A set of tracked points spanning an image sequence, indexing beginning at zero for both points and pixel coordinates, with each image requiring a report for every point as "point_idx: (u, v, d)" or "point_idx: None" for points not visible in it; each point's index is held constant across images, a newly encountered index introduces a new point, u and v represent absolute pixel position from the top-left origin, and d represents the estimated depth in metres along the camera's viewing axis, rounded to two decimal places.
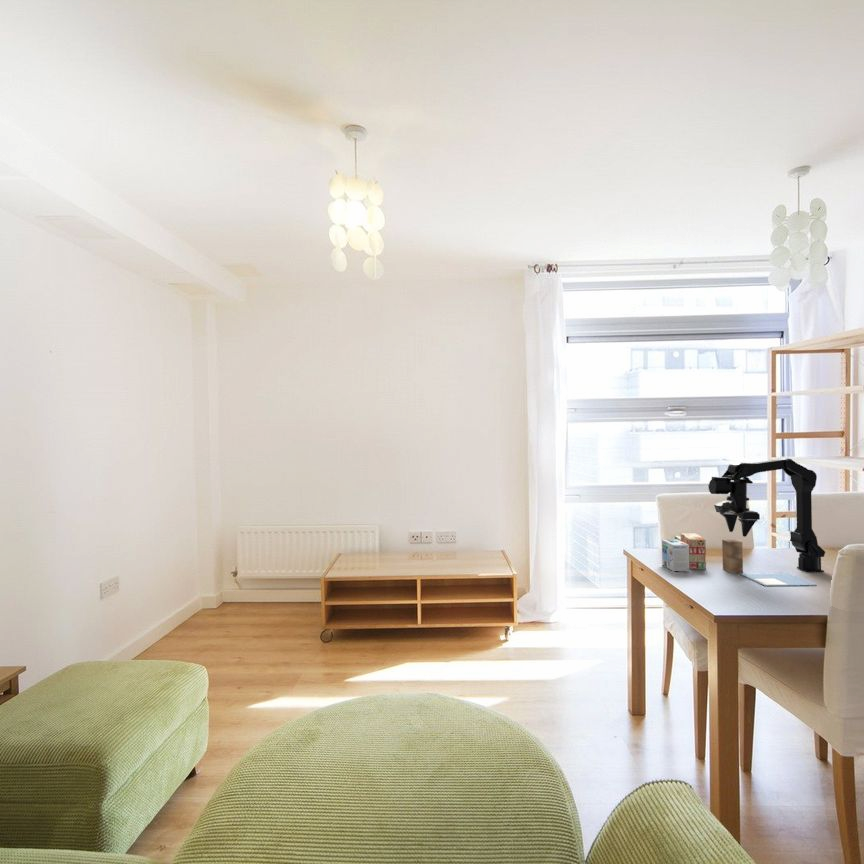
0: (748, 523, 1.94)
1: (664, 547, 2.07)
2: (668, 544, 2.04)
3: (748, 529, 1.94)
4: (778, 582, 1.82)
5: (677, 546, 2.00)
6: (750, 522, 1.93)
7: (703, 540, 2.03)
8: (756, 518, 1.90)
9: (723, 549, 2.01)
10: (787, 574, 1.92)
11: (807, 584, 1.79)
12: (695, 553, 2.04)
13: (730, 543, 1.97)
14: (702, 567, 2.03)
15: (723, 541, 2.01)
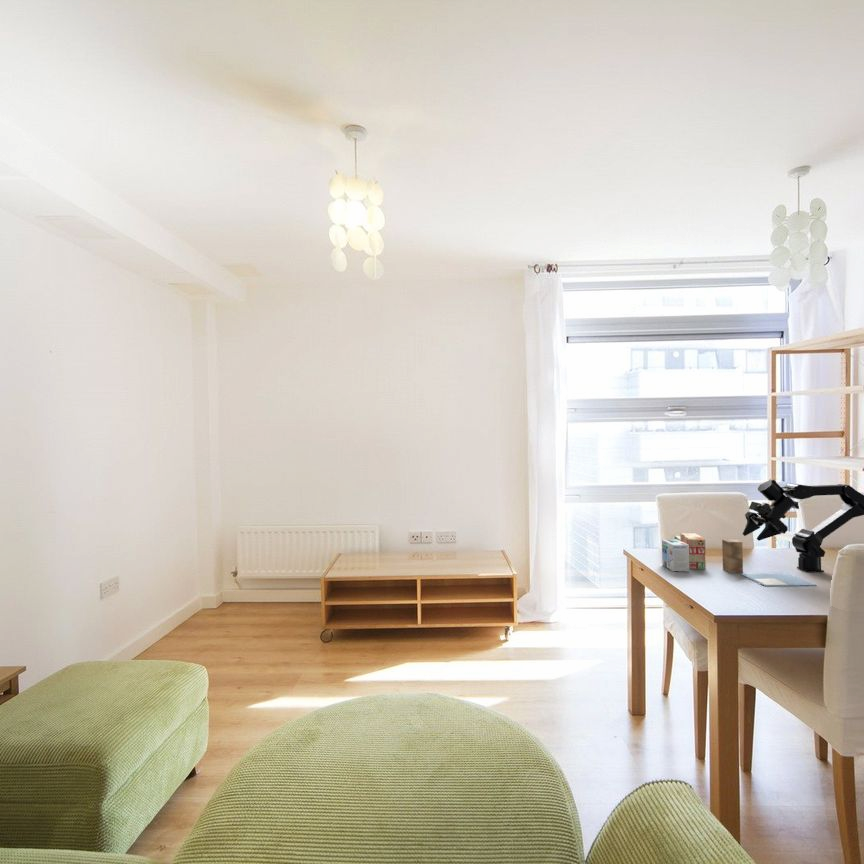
0: (770, 531, 1.93)
1: (664, 547, 2.07)
2: (668, 544, 2.04)
3: (766, 536, 1.94)
4: (778, 582, 1.82)
5: (677, 546, 2.00)
6: (773, 532, 1.93)
7: (703, 540, 2.03)
8: (783, 530, 1.90)
9: (723, 549, 2.01)
10: (787, 574, 1.92)
11: (807, 584, 1.79)
12: (695, 553, 2.04)
13: (730, 543, 1.97)
14: (702, 567, 2.03)
15: (723, 541, 2.01)
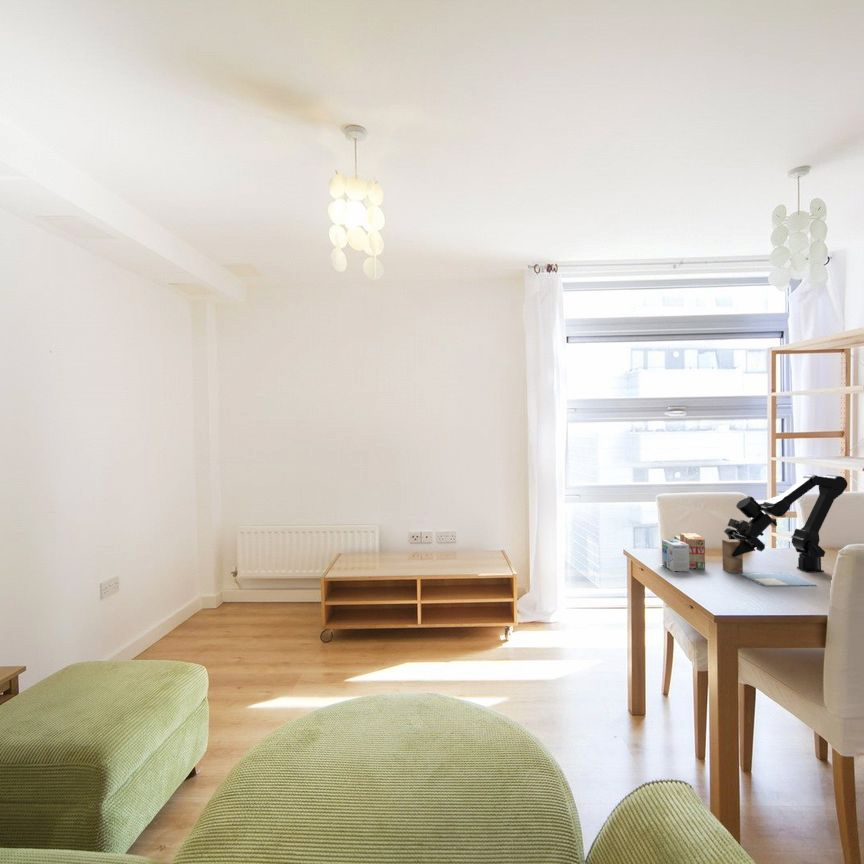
0: (745, 548, 1.95)
1: (664, 547, 2.07)
2: (668, 544, 2.04)
3: (741, 552, 1.96)
4: (778, 582, 1.82)
5: (677, 546, 2.00)
6: (747, 548, 1.95)
7: (702, 540, 2.03)
8: (760, 548, 1.90)
9: (723, 549, 2.01)
10: (787, 574, 1.92)
11: (807, 584, 1.79)
12: (695, 552, 2.04)
13: (730, 543, 1.97)
14: (701, 567, 2.03)
15: (723, 541, 2.01)
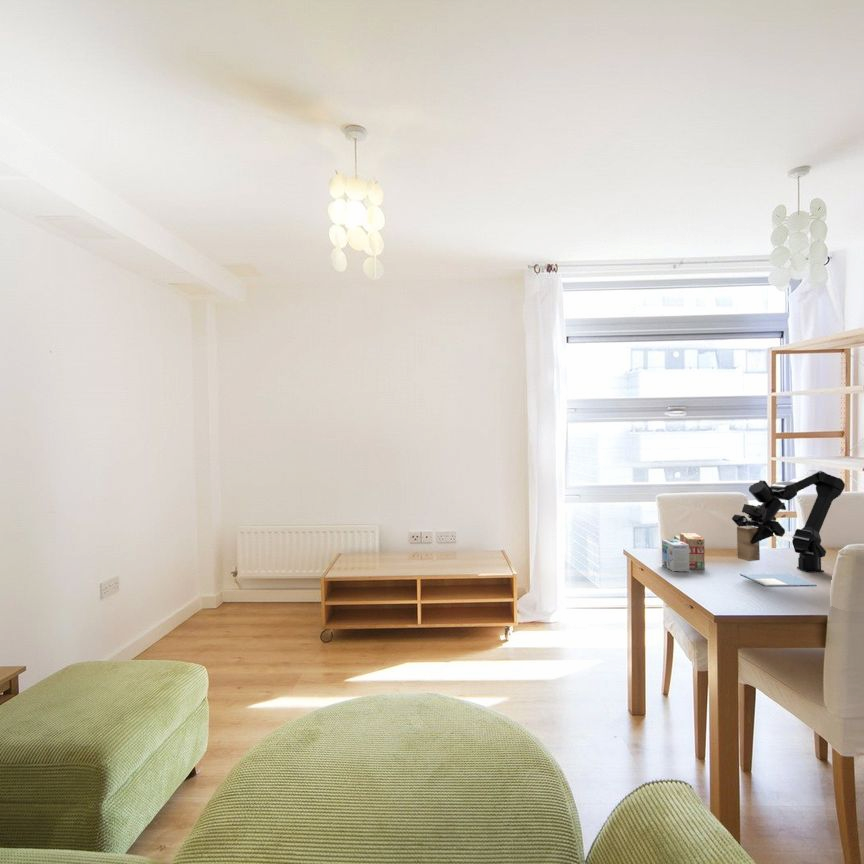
0: (763, 534, 1.88)
1: (664, 547, 2.07)
2: (668, 544, 2.04)
3: (759, 539, 1.88)
4: (778, 582, 1.82)
5: (677, 546, 2.00)
6: (765, 534, 1.88)
7: (702, 540, 2.04)
8: (781, 533, 1.83)
9: (738, 537, 1.92)
10: (787, 574, 1.92)
11: (807, 584, 1.79)
12: (694, 552, 2.04)
13: (749, 530, 1.88)
14: (701, 567, 2.04)
15: (738, 528, 1.92)
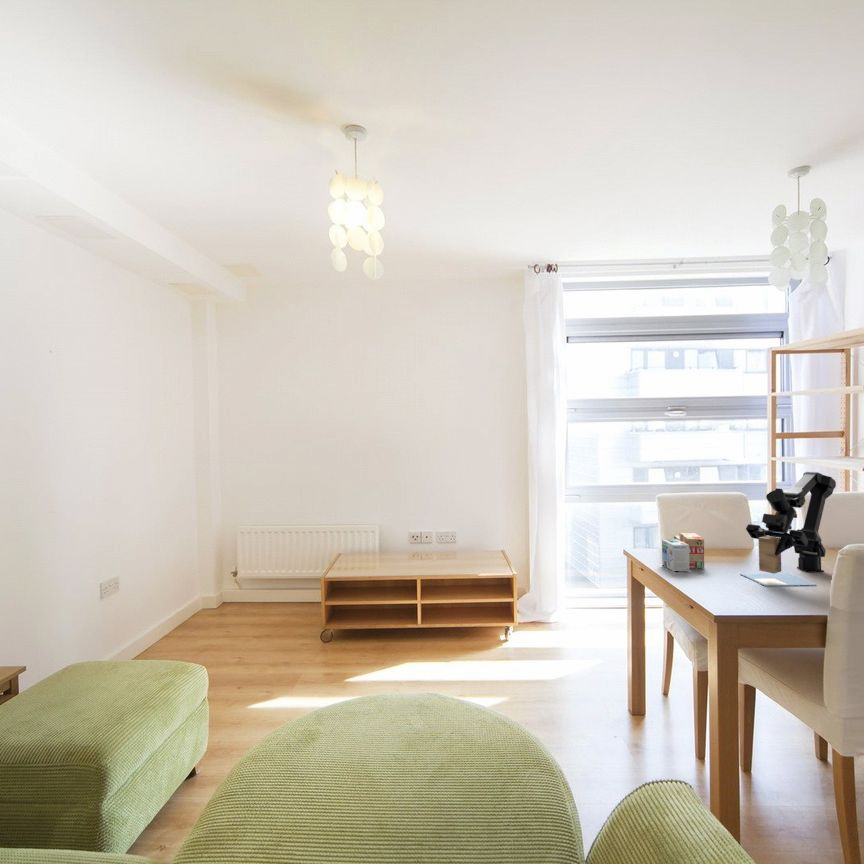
0: (785, 544, 1.81)
1: (664, 547, 2.07)
2: (668, 544, 2.04)
3: (782, 550, 1.81)
4: (778, 582, 1.82)
5: (677, 546, 2.00)
6: (787, 544, 1.81)
7: (702, 540, 2.04)
8: (806, 543, 1.78)
9: (760, 548, 1.84)
10: (787, 574, 1.92)
11: (807, 584, 1.79)
12: (694, 552, 2.04)
13: (774, 541, 1.80)
14: (701, 566, 2.04)
15: (761, 539, 1.83)
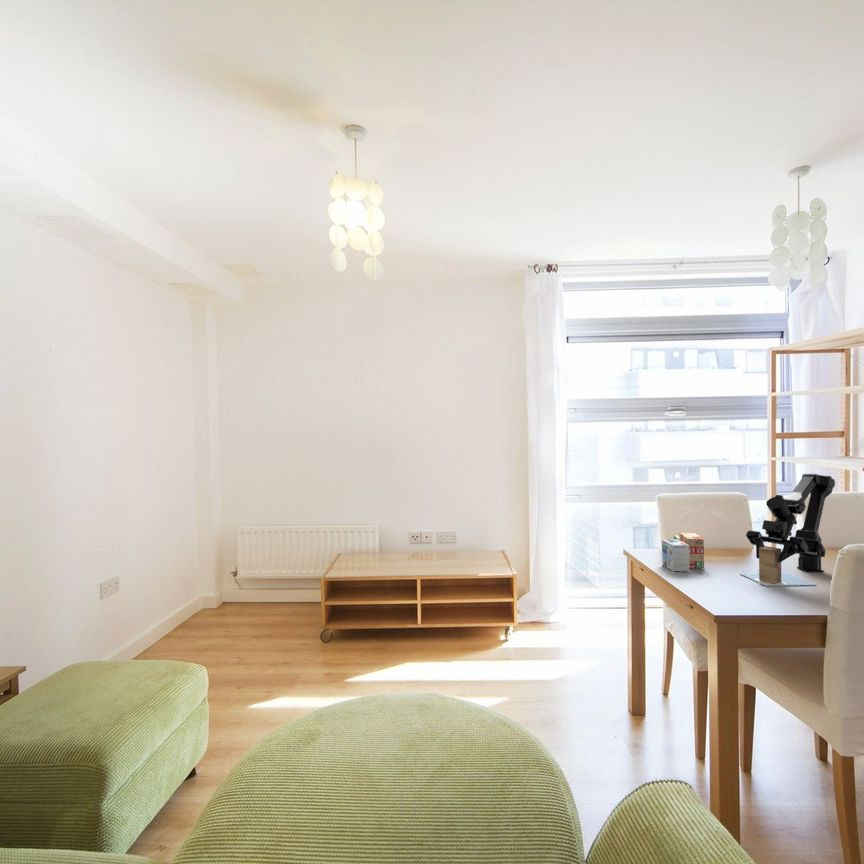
0: (788, 551, 1.81)
1: (664, 547, 2.07)
2: (668, 544, 2.04)
3: (785, 557, 1.80)
4: None
5: (677, 546, 2.00)
6: (790, 552, 1.81)
7: (701, 540, 2.04)
8: (806, 550, 1.78)
9: (761, 558, 1.84)
10: (787, 574, 1.92)
11: (807, 584, 1.79)
12: (694, 552, 2.04)
13: (774, 551, 1.80)
14: (700, 566, 2.04)
15: (761, 549, 1.84)
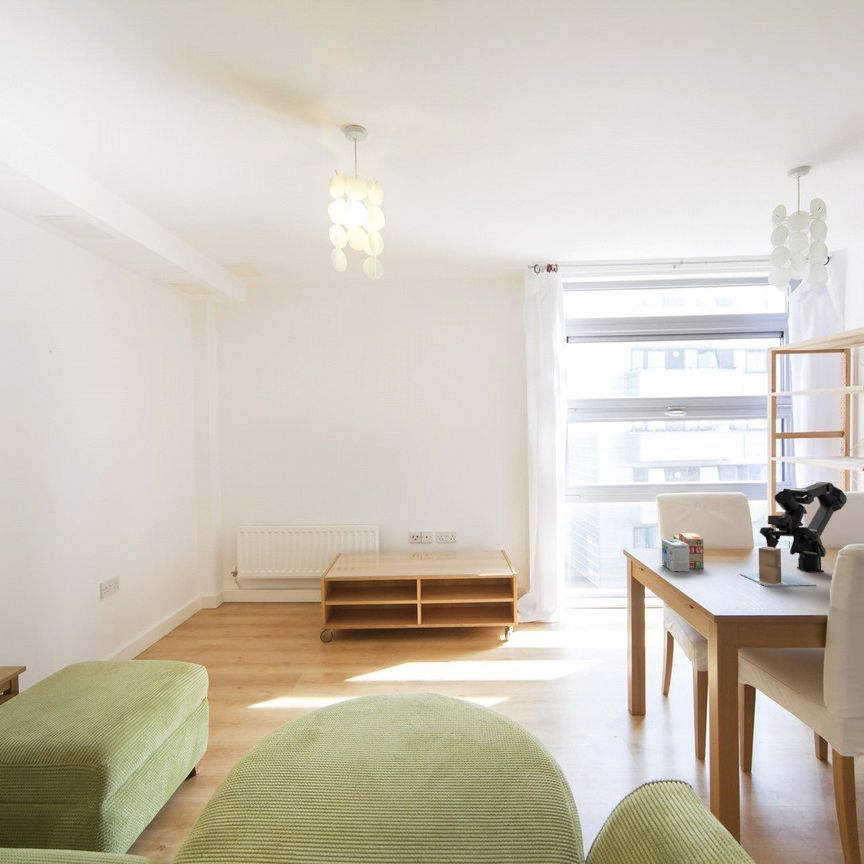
0: (800, 542, 1.84)
1: (664, 547, 2.07)
2: (668, 544, 2.04)
3: (798, 548, 1.84)
4: None
5: (677, 546, 2.00)
6: (802, 542, 1.84)
7: (701, 539, 2.04)
8: (813, 538, 1.82)
9: (761, 558, 1.83)
10: (787, 574, 1.92)
11: (807, 584, 1.79)
12: (693, 552, 2.05)
13: (774, 551, 1.80)
14: (700, 566, 2.04)
15: (761, 550, 1.83)
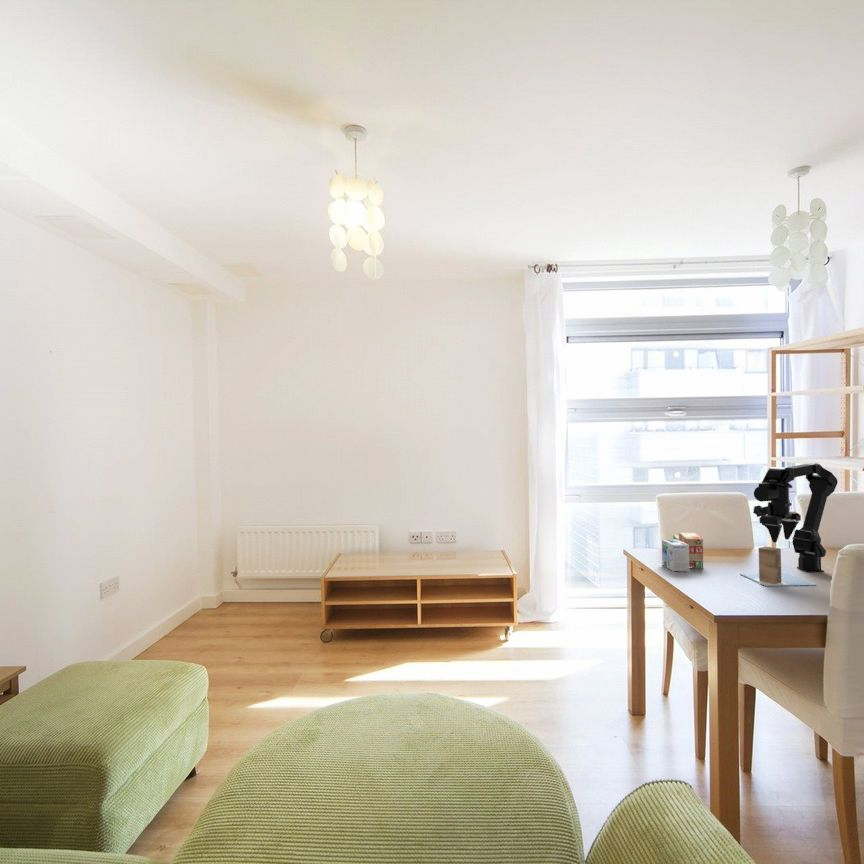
0: (774, 529, 1.89)
1: (664, 547, 2.07)
2: (668, 544, 2.04)
3: (775, 535, 1.89)
4: None
5: (677, 546, 2.00)
6: (775, 528, 1.89)
7: (700, 539, 2.04)
8: (772, 523, 1.87)
9: (761, 558, 1.83)
10: (787, 574, 1.92)
11: (807, 584, 1.79)
12: (693, 552, 2.05)
13: (774, 551, 1.80)
14: (699, 566, 2.05)
15: (761, 550, 1.83)
